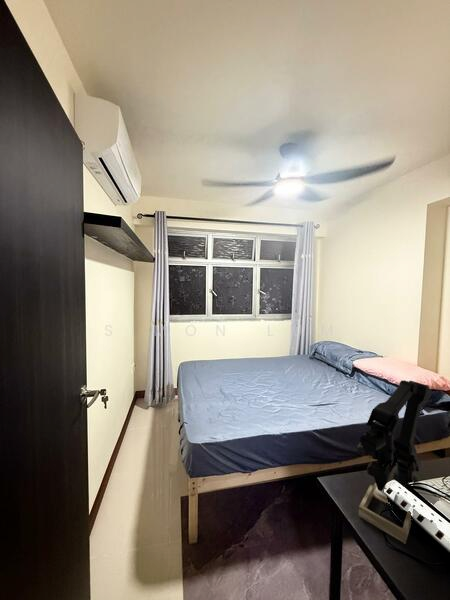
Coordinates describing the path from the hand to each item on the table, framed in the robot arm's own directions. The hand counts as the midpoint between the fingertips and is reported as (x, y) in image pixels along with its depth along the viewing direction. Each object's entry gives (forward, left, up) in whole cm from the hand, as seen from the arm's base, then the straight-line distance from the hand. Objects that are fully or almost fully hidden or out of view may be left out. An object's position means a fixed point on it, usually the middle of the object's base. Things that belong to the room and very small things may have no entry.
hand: (383, 483), depth 93 cm
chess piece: (0, 0, -4) cm, 4 cm away
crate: (+9, +3, -5) cm, 10 cm away
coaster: (0, 0, -5) cm, 5 cm away
